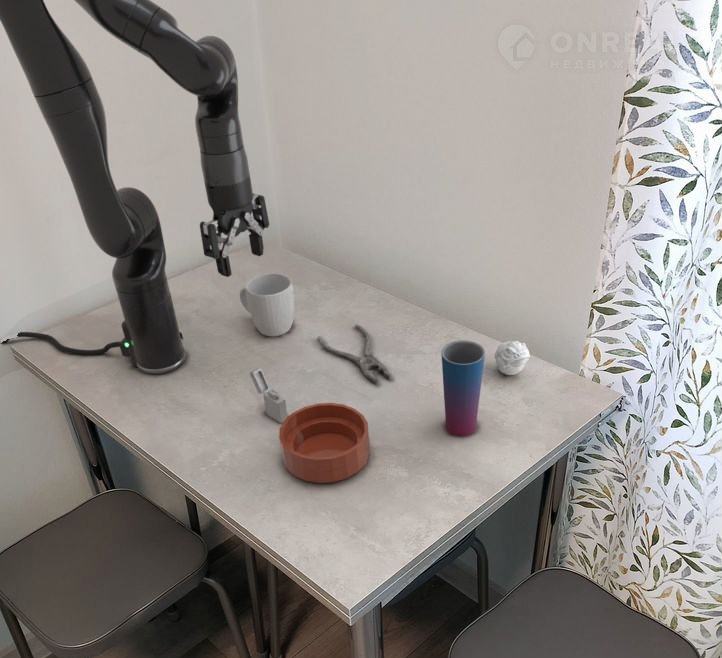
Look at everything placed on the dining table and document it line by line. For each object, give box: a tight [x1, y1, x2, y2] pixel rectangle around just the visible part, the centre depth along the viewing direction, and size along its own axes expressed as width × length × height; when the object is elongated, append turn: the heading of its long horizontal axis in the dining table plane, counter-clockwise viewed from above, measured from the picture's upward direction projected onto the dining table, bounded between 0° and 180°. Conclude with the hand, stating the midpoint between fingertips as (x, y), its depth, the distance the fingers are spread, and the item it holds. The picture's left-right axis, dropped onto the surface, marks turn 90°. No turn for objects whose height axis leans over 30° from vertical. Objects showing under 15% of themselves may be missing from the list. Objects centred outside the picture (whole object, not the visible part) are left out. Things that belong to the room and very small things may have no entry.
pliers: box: [317, 323, 391, 385], centre depth 154 cm, size 10×1×20 cm
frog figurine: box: [494, 340, 531, 376], centre depth 145 cm, size 6×7×7 cm
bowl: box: [278, 402, 371, 484], centre depth 131 cm, size 14×14×6 cm
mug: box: [239, 272, 295, 337], centre depth 161 cm, size 13×9×10 cm
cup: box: [440, 339, 486, 437], centre depth 132 cm, size 7×7×15 cm
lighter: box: [249, 368, 289, 424], centre depth 140 cm, size 7×2×8 cm, turn 44°
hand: (242, 264), depth 143 cm, fingers open, 8 cm apart
